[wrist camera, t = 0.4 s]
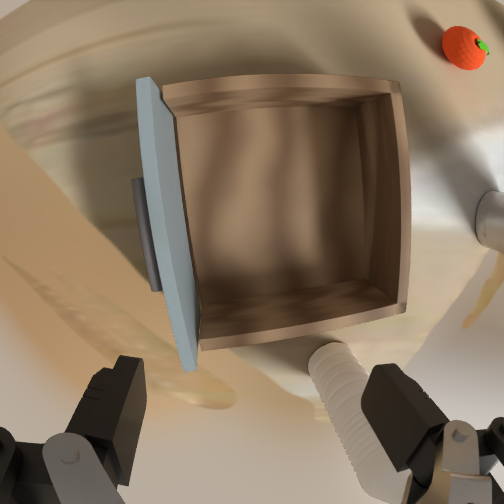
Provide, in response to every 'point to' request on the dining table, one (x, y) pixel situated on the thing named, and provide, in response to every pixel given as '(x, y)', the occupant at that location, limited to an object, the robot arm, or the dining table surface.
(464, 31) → the clementine
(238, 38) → the dining table surface
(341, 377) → the water bottle
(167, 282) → the rectangular panel
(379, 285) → the crate
